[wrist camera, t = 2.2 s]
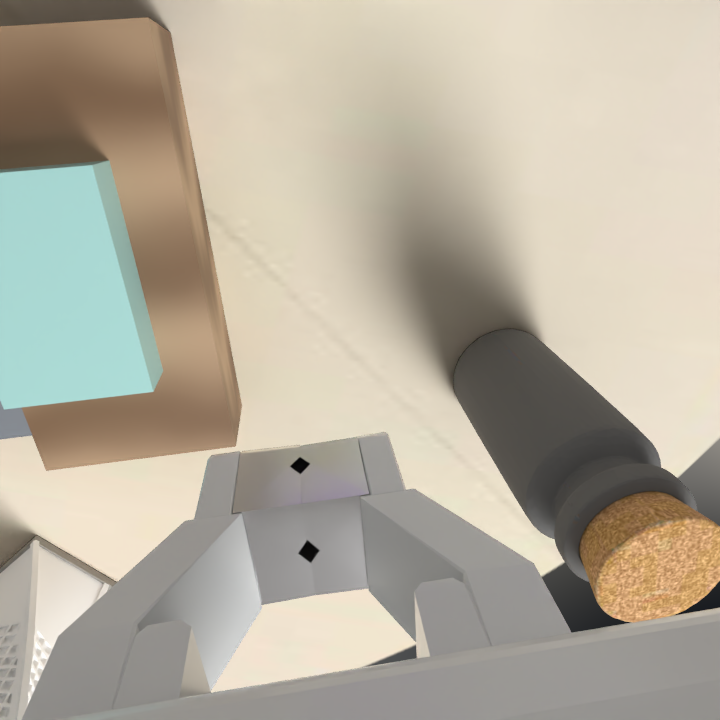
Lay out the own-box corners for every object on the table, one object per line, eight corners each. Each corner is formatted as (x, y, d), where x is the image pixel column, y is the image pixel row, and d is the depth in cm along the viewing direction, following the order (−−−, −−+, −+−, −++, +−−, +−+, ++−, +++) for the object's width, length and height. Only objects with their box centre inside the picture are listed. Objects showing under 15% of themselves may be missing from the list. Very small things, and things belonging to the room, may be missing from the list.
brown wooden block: (-58, 47, 21) (-127, 34, 18) (170, 32, 22) (147, 17, 19) (75, 426, 29) (46, 470, 26) (241, 406, 30) (235, 446, 26)
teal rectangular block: (-57, 174, 20) (-92, 180, 18) (109, 160, 20) (92, 165, 19) (25, 387, 24) (3, 409, 22) (163, 370, 24) (153, 391, 22)
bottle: (560, 331, 30) (778, 505, 17) (534, 419, 33) (707, 634, 19) (462, 324, 30) (611, 502, 16) (443, 415, 32) (558, 638, 18)
